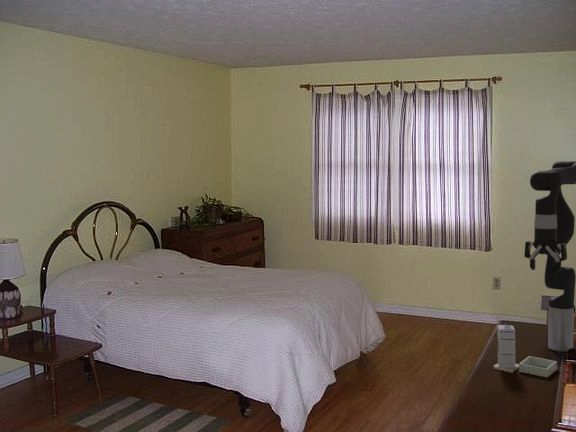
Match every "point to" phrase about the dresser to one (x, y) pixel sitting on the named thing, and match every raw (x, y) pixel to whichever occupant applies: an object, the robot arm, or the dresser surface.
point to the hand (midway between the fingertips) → (545, 270)
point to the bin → (527, 368)
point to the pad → (506, 368)
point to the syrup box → (506, 346)
